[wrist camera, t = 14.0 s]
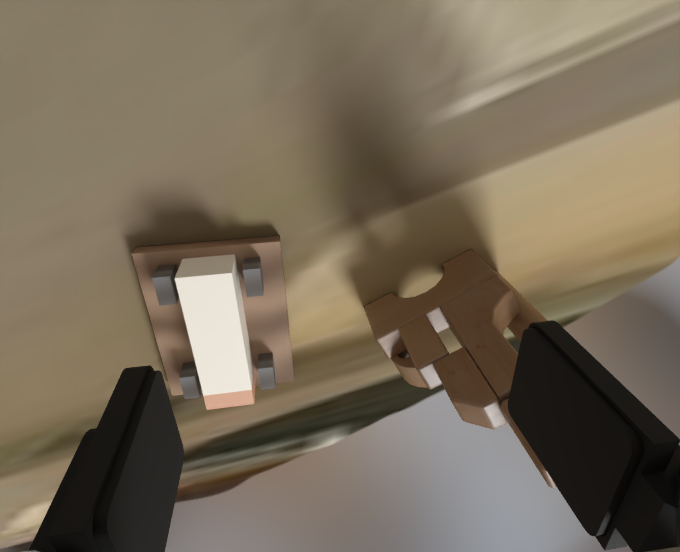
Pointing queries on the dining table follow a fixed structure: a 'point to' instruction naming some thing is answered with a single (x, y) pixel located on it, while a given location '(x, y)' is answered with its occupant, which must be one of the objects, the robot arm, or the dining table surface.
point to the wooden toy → (460, 340)
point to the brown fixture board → (258, 301)
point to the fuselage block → (217, 329)
